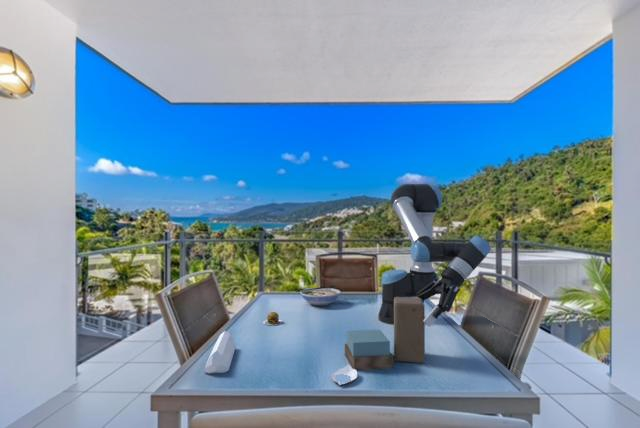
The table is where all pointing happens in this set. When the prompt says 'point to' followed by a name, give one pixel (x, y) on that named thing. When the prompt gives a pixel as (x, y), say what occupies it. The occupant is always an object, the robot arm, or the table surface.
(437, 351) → the table surface
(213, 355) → the crystal
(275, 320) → the hamburger
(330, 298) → the ramen bowl
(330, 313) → the table surface
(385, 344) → the grey teal block
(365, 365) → the tower base
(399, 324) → the wooden block
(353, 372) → the pale veined leaf
